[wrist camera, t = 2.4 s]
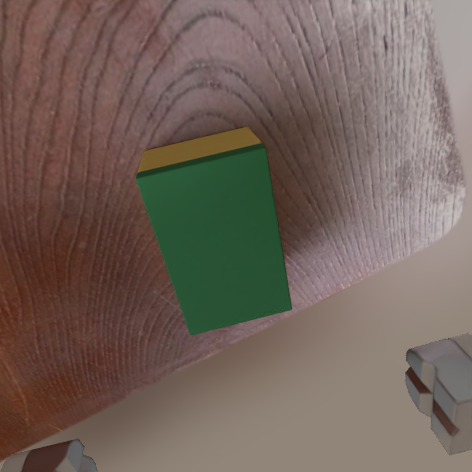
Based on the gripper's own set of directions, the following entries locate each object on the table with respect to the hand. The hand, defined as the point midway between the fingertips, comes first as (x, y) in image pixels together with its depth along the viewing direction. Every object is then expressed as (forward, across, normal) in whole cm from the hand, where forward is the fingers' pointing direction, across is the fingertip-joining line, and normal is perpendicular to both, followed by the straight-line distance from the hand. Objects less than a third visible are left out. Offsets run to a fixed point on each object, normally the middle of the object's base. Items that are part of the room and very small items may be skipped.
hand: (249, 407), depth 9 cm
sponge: (+12, 0, 0) cm, 12 cm away
